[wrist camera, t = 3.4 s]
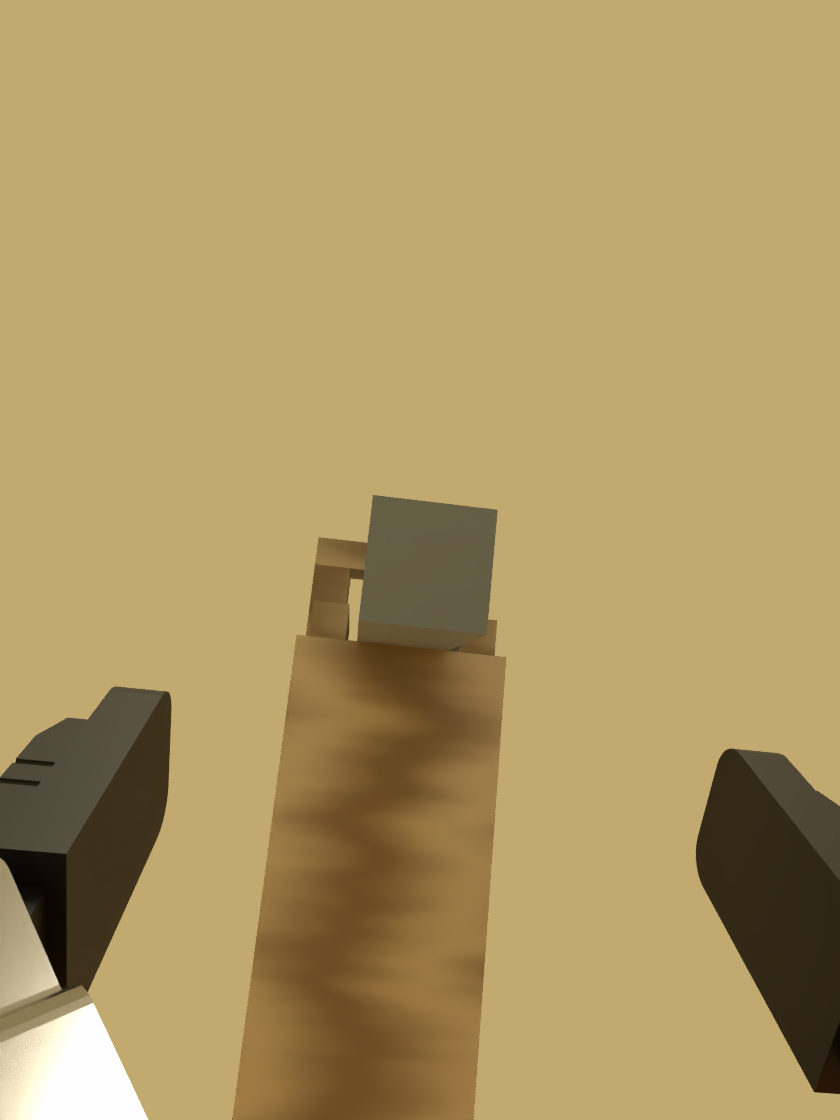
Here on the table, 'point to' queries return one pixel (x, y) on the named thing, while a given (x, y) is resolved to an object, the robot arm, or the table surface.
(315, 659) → the tall patterned tan block
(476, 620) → the bar
